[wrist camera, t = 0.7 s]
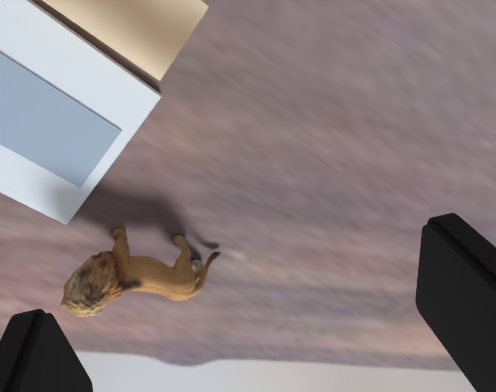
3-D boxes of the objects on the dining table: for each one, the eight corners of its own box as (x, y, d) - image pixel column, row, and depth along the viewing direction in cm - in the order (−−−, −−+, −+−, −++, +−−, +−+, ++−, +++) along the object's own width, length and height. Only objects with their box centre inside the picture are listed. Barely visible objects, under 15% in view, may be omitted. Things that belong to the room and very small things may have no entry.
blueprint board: (-34, -47, 27) (-41, -47, 27) (161, 94, 34) (161, 97, 33) (-117, 127, 32) (-125, 132, 32) (68, 220, 39) (66, 226, 38)
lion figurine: (81, 265, 42) (59, 333, 35) (77, 224, 40) (52, 287, 32) (217, 267, 45) (225, 329, 37) (222, 228, 43) (232, 287, 35)
